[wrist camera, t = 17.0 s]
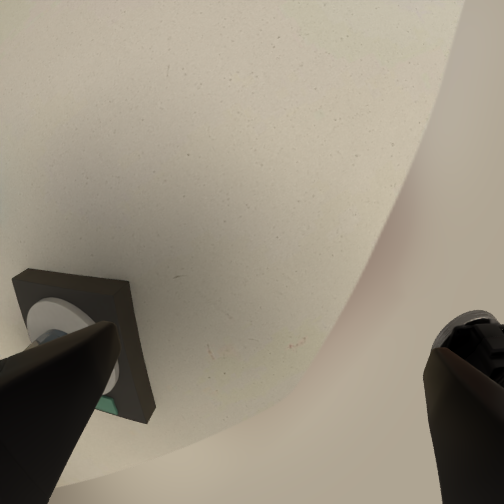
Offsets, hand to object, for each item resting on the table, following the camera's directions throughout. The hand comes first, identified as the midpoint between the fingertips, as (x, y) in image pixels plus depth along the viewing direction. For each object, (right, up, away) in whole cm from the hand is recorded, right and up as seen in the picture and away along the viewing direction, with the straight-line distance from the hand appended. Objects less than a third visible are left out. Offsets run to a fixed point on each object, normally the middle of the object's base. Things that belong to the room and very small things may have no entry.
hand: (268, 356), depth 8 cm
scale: (-16, -6, +19) cm, 25 cm away
